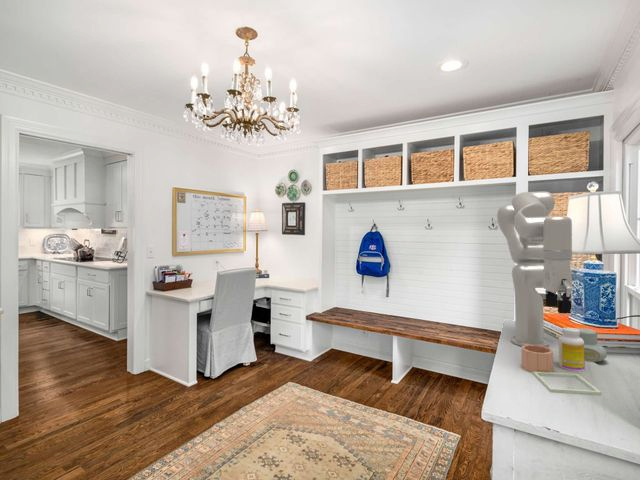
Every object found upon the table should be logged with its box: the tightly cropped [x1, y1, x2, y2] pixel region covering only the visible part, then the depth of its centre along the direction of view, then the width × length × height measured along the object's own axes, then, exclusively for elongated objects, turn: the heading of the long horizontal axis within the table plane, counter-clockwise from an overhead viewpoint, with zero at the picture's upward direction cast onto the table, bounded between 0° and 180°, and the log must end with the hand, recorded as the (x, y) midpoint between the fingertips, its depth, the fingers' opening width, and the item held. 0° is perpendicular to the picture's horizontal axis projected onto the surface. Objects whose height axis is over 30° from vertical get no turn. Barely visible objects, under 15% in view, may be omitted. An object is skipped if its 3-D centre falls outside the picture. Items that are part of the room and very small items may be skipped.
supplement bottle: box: [558, 327, 586, 372], centre depth 110 cm, size 7×7×13 cm
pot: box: [521, 345, 555, 373], centre depth 110 cm, size 8×9×7 cm
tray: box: [532, 372, 602, 396], centre depth 98 cm, size 12×12×2 cm
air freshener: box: [578, 327, 608, 363], centre depth 118 cm, size 11×8×10 cm
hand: (557, 309), depth 110 cm, fingers open, 9 cm apart
